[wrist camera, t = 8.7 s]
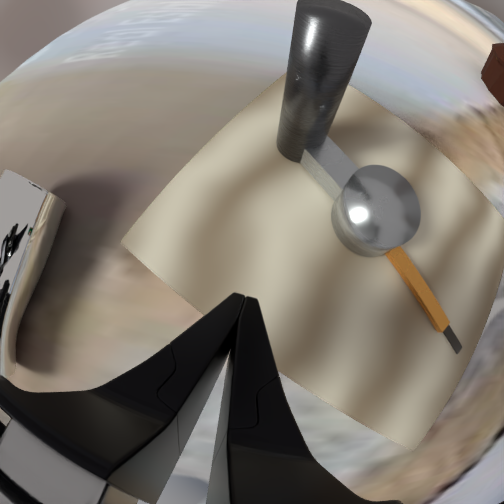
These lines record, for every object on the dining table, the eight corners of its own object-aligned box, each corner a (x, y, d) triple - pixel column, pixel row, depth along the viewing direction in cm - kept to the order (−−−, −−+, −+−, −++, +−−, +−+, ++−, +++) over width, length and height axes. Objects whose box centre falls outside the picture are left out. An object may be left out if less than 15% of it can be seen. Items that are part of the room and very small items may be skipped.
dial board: (502, 233, 19) (513, 228, 18) (404, 444, 15) (414, 452, 14) (300, 71, 23) (302, 58, 21) (128, 247, 19) (118, 241, 17)
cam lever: (459, 303, 16) (578, 282, 5) (420, 352, 15) (551, 366, 5) (309, 115, 19) (343, -8, 8) (256, 145, 18) (263, 5, 8)
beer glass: (34, 380, 16) (84, 212, 19) (-29, 384, 9) (23, 174, 12) (-2, 339, 17) (42, 195, 20) (-56, 334, 11) (-8, 163, 13)
